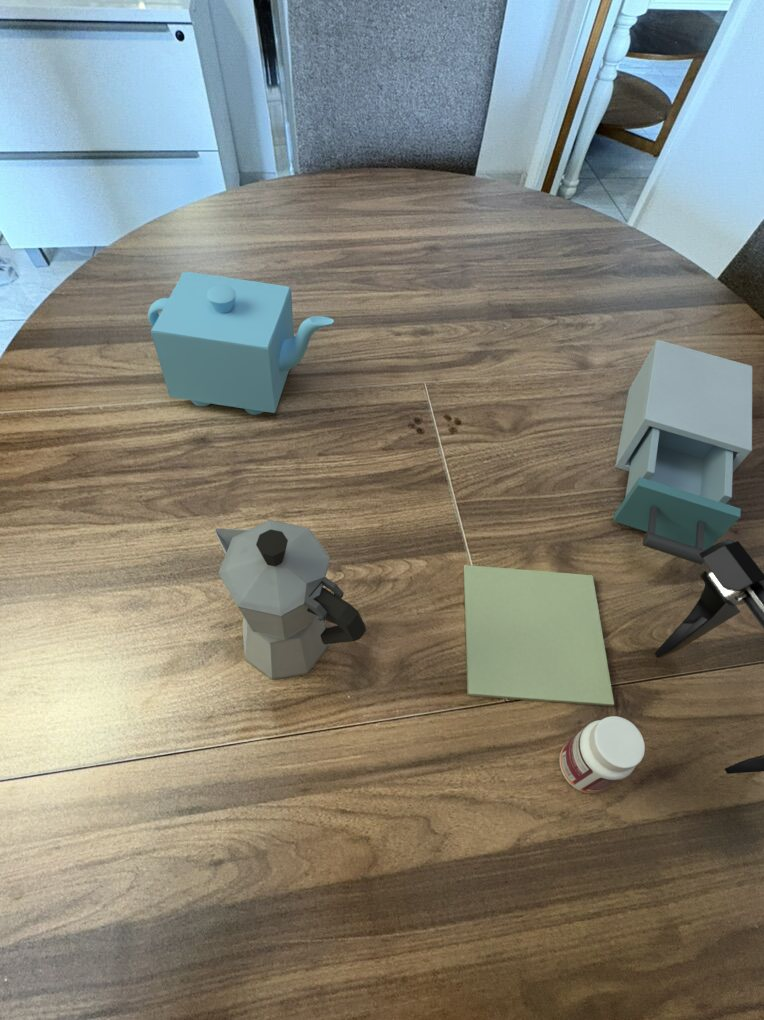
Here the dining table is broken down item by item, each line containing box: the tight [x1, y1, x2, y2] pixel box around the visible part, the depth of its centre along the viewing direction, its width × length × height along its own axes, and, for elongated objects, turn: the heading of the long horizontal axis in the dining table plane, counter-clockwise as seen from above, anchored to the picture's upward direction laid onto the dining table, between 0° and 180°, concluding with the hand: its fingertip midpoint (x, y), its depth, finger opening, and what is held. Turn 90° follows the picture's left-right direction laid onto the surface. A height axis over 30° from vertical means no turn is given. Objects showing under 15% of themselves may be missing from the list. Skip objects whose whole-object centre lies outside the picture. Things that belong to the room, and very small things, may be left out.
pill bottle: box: [558, 715, 646, 794], centre depth 52 cm, size 5×5×8 cm
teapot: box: [147, 270, 335, 415], centre depth 74 cm, size 22×11×14 cm, turn 82°
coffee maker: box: [214, 519, 367, 681], centre depth 53 cm, size 15×9×18 cm, turn 56°
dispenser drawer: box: [612, 426, 742, 565], centre depth 69 cm, size 19×11×7 cm, turn 160°
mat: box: [463, 564, 615, 707], centre depth 62 cm, size 14×14×1 cm
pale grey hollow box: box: [614, 339, 753, 473], centre depth 76 cm, size 15×12×9 cm
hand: (689, 710), depth 47 cm, fingers open, 9 cm apart
